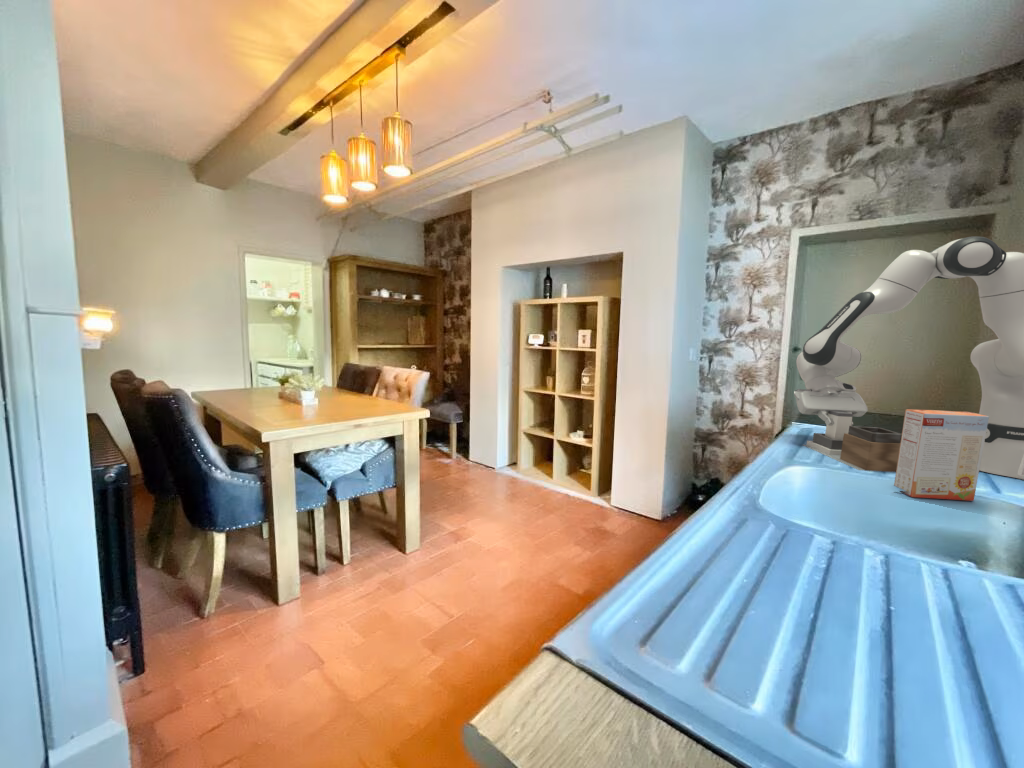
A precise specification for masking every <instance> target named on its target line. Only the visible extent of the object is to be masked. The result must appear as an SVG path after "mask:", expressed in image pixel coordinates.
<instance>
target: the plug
mask: <svg viewBox="0 0 1024 768" xmlns="http://www.w3.org/2000/svg"><path fill="white" fill-rule="evenodd" d="M827 416H828V417H829V418H831V419H833V421H834V424H833V425H832V426H830V425H826V424H825V425H826V427H825V433H824V434H825V436H826V437H829V438H831V439H837V440H843V437H844V433H846V434H848V432H849V426H851V423H852V422H853V417H854V416H853V414H852V413H848V412H844V411H829V412H828V415H827Z"/></svg>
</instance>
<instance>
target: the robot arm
mask: <svg viewBox="0 0 1024 768" xmlns="http://www.w3.org/2000/svg"><path fill="white" fill-rule="evenodd" d="M966 277H969V278H970V279H972V280H973V281H974V282H975V283H976V286H977V288H978V289H977V291H978V297H979V304H980V310H981V315H982V321H983V322H984V325H985V326H987V327H988V328H989V329H991V330H992V332H993V333H994V334H995V335H996V337H997V339H992V340H991V339H990V340H987V341H984V342H981V343H979V344H977V345H976V346H974V348H973V349H972V350H971V353H970V355H969V356H970V357H969V358H970V362H971V364H972V365H973V367H974V368H975V369H976V371H977V373H978V375H979V380H980V387H981V399H980V400H981V401H980V405H979V412H978V414H980V415H985V416H989V420H988V425H987V430H986V436H985V442H984V447H983V452H982V458H981V464H980V469H979V472H983V473H984V472H985V473H989V474H992V475H993V474H994V475H998V476H1005V477H1010V478H1013V479H1015V478H1016V479H1018V480H1024V252H1019V251H1007V252H1006V251H1005V250H1004V249H1002V247H1000V246H999V245H998V244H996V242H995V241H994V240H992V239H990V238H987V237H984V236H975V235H974V236H967V237H963V238H959V239H955V240H952V241H949V242H948V243H946V244H943V245H941V246H939V247H937V248H935V249H933V250H931V251H926V250H920V249H910V250H906V251H904V252H902V253H901V254H900V255H898V256H897V257H896V258H895V259H894V260H893V261H892V262H891V263H890V264H889V265H888V266H887V267H886V268H885V269H884V270H883V271H882V273H881V274H880V275H879V276H878V277H877V279H875V281H874V282H873V283H872V284H871V285H870V287H868V288H867V289H865V290H864V291H862V292H859V293H857V294H856V295H854V296H853V297H851V298H850V299H849V301H847V302H846V303H845V304H844V305H843V306H842V307H841V308H840V309H839V311H837V312H836V313H835V314H834V315H833V316H832V317H831V318H830V320H829V321H827V323H826V324H825V325H824V326H823V327H822V328H821V329H820V330H818V331H817V332H816V333H815V334H813V335H812V336H811V337H809V338H807V340H806V341H805V342H804V343H803V347H802V351H801V352H800V353H799V354H798V355H797V358H796V361H795V363H796V368H797V371H798V374H799V376H800V378H801V379H802V381H803V382H804V387H805V389H801V388H796V390H794V391H793V396H794V398H795V402H796V406H797V410H798V411H799V413H801V414H802V415H814V416H815V415H816V416H818V418H820V419H821V420H822V421H823V422H824V423H825V425H830V426H832V425H833V424H834V421H833V419H831V418H829V417H828V412H829V411H844V412H848V413H852V414H853V417H858V418H859V417H860V418H861V417H863V416H864V415H865V414H866V413H867V412H868V410H869V409H868V408H869V407H868V406H867V404H866V401H865V400H864V399H863V397H862V396H861V394H860V393H858V392H856V391H857V387H856V386H855V385H853V384H849V383H846V382H843V381H841V380H838V379H836V378H838V377H841V376H843V375H846V374H848V373H850V372H852V371H854V370H855V369H856V368H857V367H858V366H859V365H860V364H861V361H862V354H861V352H860V350H859V349H858V348H857V347H854V346H852V345H851V344H848V343H845V342H843V341H841V338H842V337H844V335H845V334H846V333H847V332H848V331H850V329H851V328H852V327H853V326H854V325H855V324H856V323H857V322H859V320H861V319H862V318H864V317H867V316H870V315H886V314H894V313H897V312H900V311H902V310H903V309H904V308H906V307H908V305H909V304H911V302H913V300H914V298H916V296H917V295H918V294H919V293H920V291H921V290H922V289H923V287H924V286H925V285H926V284H927V283H928V282H930V281H931V280H932V279H934V278H935V279H942V280H943V279H944V280H949V279H963V278H966ZM853 425H854V421H852V423H851V426H853Z"/></svg>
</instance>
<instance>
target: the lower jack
mask: <svg viewBox="0 0 1024 768" xmlns="http://www.w3.org/2000/svg"><path fill="white" fill-rule="evenodd" d="M812 436H813V437H812V440H806V445H808V446H810V447H812V448H815V449H817V450H819V451H821V452H824V453H826V454H828V455H841V450H842V443H843V440H837V439H831V438H829V437H826V436H825V433H823V432H822V433H821V432H820V433H819V432H818V433H817V432H814V433H813V435H812Z"/></svg>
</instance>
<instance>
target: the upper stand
mask: <svg viewBox="0 0 1024 768" xmlns="http://www.w3.org/2000/svg"><path fill="white" fill-rule="evenodd" d="M901 437H902V433H900V432H896V431H892V430H889V429H886V428H882V427H878V426H874V427H873V426H858V425H857V426H855V425H854V426H853V425H852V426H849V432H848V434H846V433H844V437H843V443H842V450H841V456H840V459H841V460H843V461H846V462H848V463H850V464H853V465H855V466H857V467H859V468H862V469H864V470H863V471H865V470H869V472H870V471H871V472H884V471H888V473H896V470H897V463H898V457H899V450H900V443H901Z"/></svg>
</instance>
